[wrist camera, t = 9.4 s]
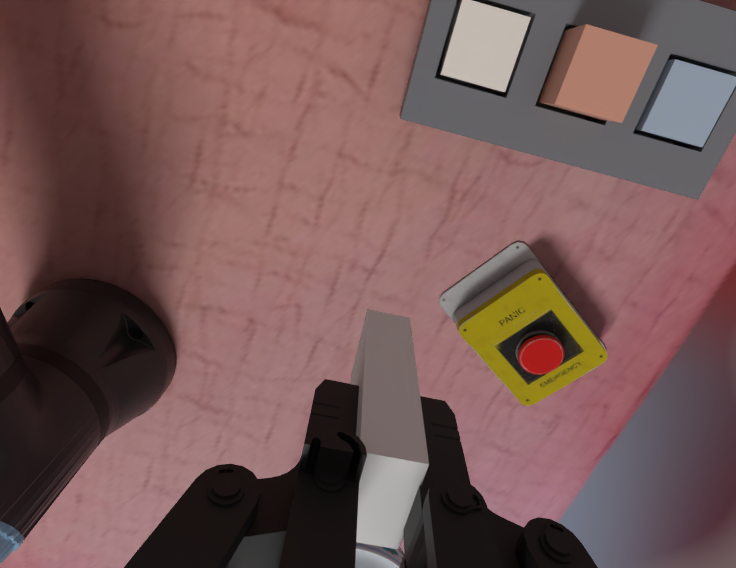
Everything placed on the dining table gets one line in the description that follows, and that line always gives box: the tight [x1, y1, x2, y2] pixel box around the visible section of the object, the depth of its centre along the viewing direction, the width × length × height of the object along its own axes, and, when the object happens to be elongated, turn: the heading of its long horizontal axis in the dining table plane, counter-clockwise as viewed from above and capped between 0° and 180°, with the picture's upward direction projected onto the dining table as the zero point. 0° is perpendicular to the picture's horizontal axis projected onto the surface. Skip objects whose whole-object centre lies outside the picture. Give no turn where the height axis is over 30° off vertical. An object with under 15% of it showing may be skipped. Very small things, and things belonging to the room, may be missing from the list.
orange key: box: [538, 24, 658, 123], centre depth 28 cm, size 4×4×4 cm
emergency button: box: [439, 242, 608, 406], centre depth 41 cm, size 9×4×15 cm
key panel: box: [400, 0, 736, 200], centre depth 31 cm, size 22×11×4 cm, turn 76°
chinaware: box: [355, 542, 404, 568], centre depth 51 cm, size 15×15×8 cm
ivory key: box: [436, 0, 531, 92], centre depth 30 cm, size 4×4×4 cm
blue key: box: [634, 59, 736, 147], centre depth 31 cm, size 4×4×4 cm
